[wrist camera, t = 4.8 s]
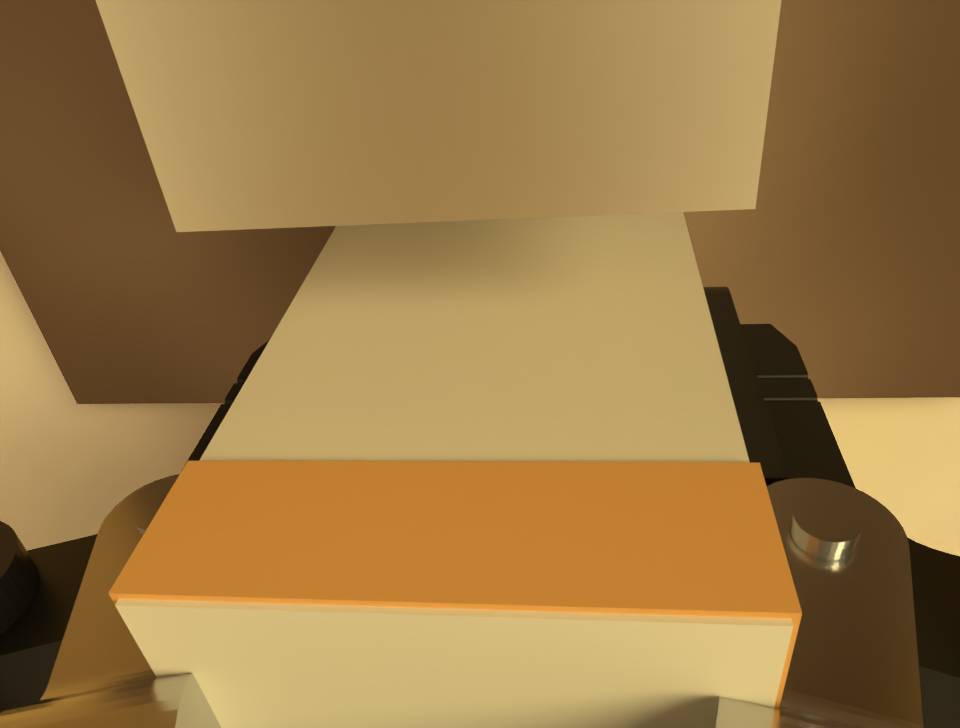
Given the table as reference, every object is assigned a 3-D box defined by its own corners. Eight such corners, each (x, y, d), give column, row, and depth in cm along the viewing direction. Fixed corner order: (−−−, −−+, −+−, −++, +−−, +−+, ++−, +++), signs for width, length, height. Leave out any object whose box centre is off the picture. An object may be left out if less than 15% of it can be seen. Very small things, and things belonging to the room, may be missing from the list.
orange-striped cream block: (674, 157, 10) (805, 621, 4) (658, 433, 12) (724, 942, 7) (360, 173, 10) (103, 600, 5) (410, 433, 13) (283, 904, 7)
